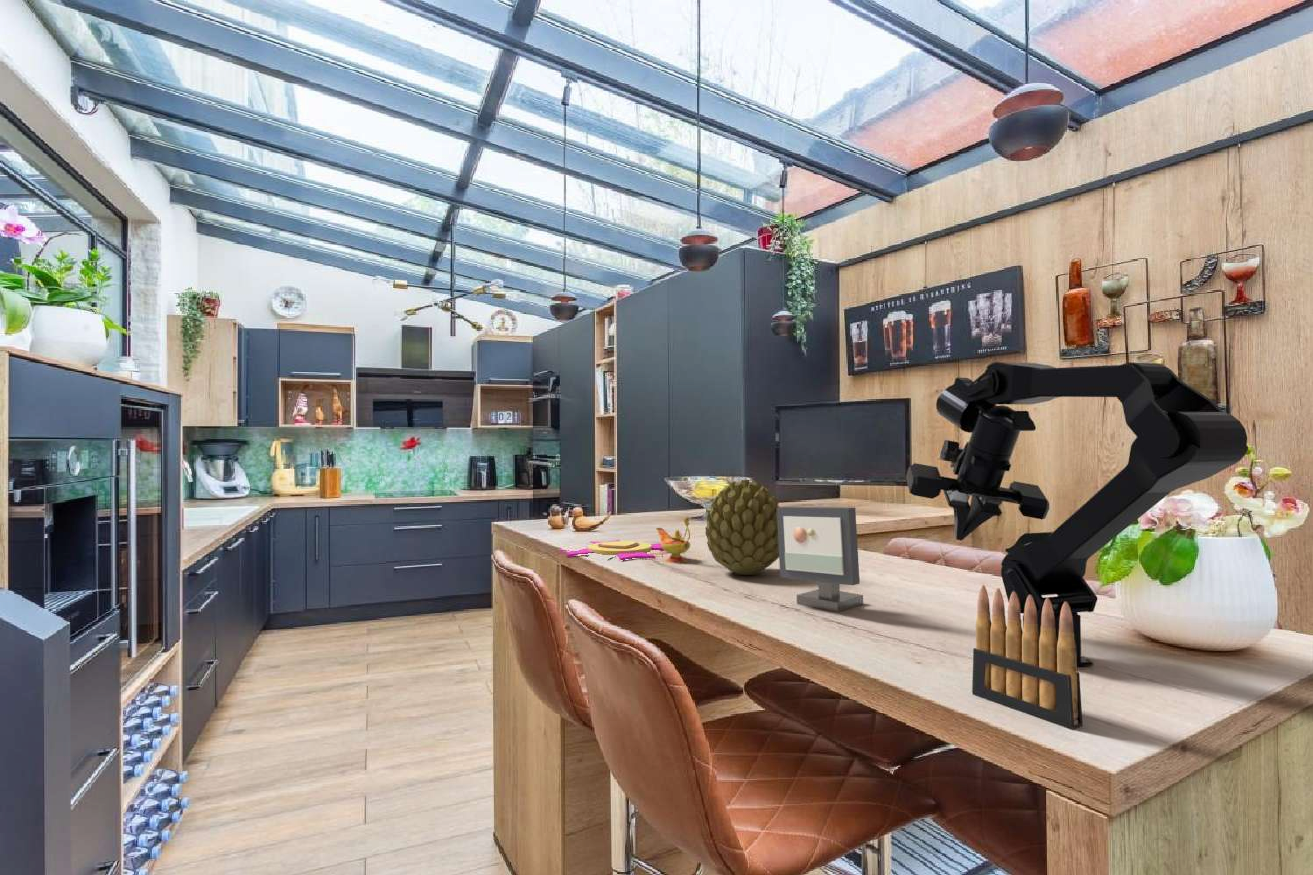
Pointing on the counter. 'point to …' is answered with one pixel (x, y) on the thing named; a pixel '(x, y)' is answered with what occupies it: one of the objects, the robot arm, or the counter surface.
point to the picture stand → (830, 598)
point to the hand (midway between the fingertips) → (958, 538)
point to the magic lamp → (674, 543)
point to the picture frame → (818, 544)
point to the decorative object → (743, 528)
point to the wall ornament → (620, 549)
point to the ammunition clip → (1027, 660)
